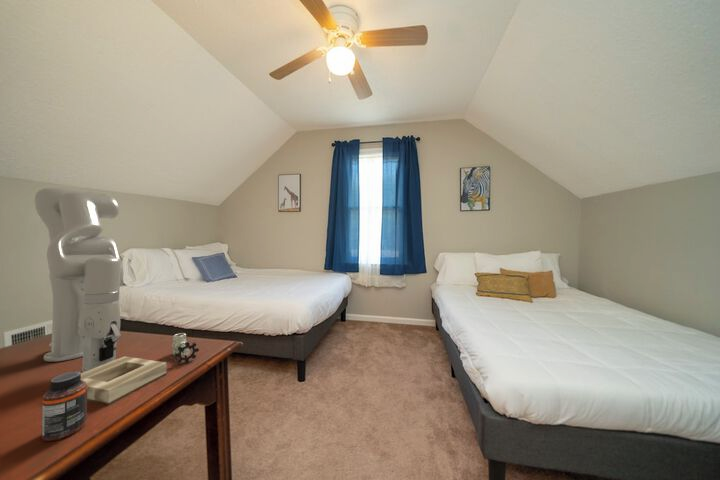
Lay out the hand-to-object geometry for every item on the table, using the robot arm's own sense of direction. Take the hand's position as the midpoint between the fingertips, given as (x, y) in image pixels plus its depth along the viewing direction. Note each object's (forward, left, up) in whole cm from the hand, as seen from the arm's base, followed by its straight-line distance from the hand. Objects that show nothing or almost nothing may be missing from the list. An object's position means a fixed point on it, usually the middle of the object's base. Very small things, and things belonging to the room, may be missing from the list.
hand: (99, 357), depth 74 cm
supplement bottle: (+23, -19, -4) cm, 30 cm away
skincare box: (0, 0, -4) cm, 4 cm away
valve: (+16, +13, -4) cm, 21 cm away
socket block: (+14, -4, -4) cm, 15 cm away
